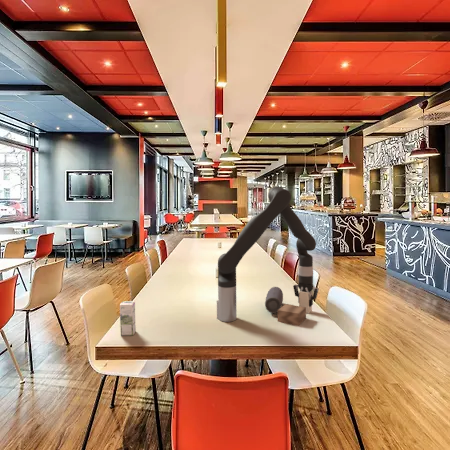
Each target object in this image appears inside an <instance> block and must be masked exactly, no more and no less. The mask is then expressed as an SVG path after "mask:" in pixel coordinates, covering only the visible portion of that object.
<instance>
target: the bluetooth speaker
mask: <svg viewBox="0 0 450 450" xmlns="http://www.w3.org/2000/svg"><path fill="white" fill-rule="evenodd" d="M283 302H284V293H283V291H282V289H281V288H280V287H278V286H273V287H270V289H268V292H267V293H266V297H265V302H264V305H265V309H266V310H267V312H269V313H271V314H275V313H276V314H277V313H278V309H280V308H281V307H282V306H283Z"/></svg>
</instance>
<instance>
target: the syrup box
mask: <svg viewBox="0 0 450 450" xmlns="http://www.w3.org/2000/svg"><path fill="white" fill-rule="evenodd" d="M119 323H120V325H119V327H120V336H124V337H125V336H134V335H135V332H136V331H137V329H136V328H137V327H136V326H137V325H136V301H135V300H129V301H128V300H126V301H123V300H122V302H120V304H119Z"/></svg>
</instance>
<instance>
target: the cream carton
mask: <svg viewBox="0 0 450 450" xmlns="http://www.w3.org/2000/svg"><path fill="white" fill-rule="evenodd" d="M298 292H299V303H298V306H301V307H306V315H307V314H310V313H311V312H313V309H312V308H313V305H312V306H311V307H309V300H310V299H309V293H311V292H309V293H307V292H303V291H302V292H301V291H300V290H299V291H298Z"/></svg>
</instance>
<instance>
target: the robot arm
mask: <svg viewBox="0 0 450 450" xmlns="http://www.w3.org/2000/svg"><path fill="white" fill-rule="evenodd" d="M267 197H268V200H269V201H270V202H269V203H268V205H267V206H266V207H265V208H264V210H263V211H260V212H259V213H257V215H255V216H254V217H252V218H251V219H250V220H249V221H248V222H247V223H246V224H245V225H244V226H243V228H242V230H241V231H240V233H239V234H238V236H237V238H236V240H235V241H234V243H233V245H232V246H231V247H230V248H229V249H228V250H227V251H226V252H225V253H223V254H221V255H220V256H219V258H218V259H217V292H218V294H217V300H216V319H217V320H219V321H220V322H224V323H225V322H226V323H227V322H230V323H231V322H233V321H236V320H237V318H238V317H237V312H238V311H237V267H238V265H239V263H241V260H242V259H243V257H244V256H245V255H246V254H247V252H248V251H249V250H250V249H251V248H252V247H253V246H254V245H255V244H256V243H257V242H258V241H259V240H260V238H261V237H262V236H263V235H264V233H265V232H266V230H267V229H268V228H269V226H270V225H272V223H273V222H274V221H275V219H276V218H277V217H278V216H279V215H281V217H282V218H283V220H284V222H285V224H286V225H287V227H288V229H289V230H290V232H291V233H292V235H293V236H294V238H296V239H297V240H296V242H295V243H296V245H295V246H296V251H297V255H298V258H299V259H298V260H299V261H298V265H299V266H298V284H293V292H294V296H295V297H297V298H298V299H297V300H298V301H297V302H298V304H299V292H300V291H301V292H302V291H303V292H307V293H309V292H311V293H309V299H310V300H309V307H311V306H312V307H313V305H314V300H315V299H317V297H318V293H319V287H315V286H314V268H313V267H314V265H313V264H314V262H313V261H314V259H313V256H312V255H311V254H309V253H308V252H311V251H314V250H315V249H316V248H317V241H316V239H315V238H314V236H313V235H312V234H311V233H310V232H309V231H308V230H307V229H306V228H305V226H304V224H303V222H302V220H301V219H300V217H299V216H298V215H297V214H296V212H295V211H294V210H293V209H292V207H291V206H290V203H291V201H292V194H291V192H290V191H289V190H288V189H286V188H284V187H280V186H274V187H272V188H270V189H269V191H268V195H267ZM312 290H313V291H312Z"/></svg>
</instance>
